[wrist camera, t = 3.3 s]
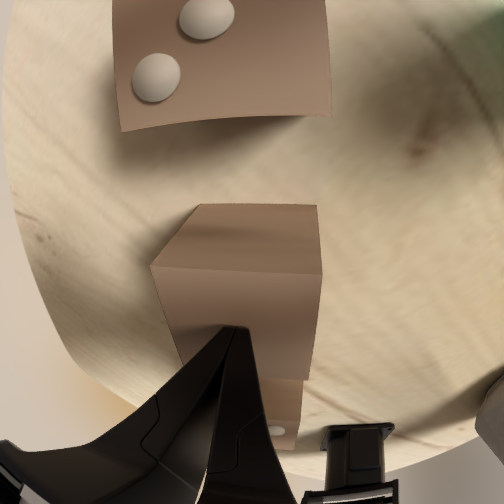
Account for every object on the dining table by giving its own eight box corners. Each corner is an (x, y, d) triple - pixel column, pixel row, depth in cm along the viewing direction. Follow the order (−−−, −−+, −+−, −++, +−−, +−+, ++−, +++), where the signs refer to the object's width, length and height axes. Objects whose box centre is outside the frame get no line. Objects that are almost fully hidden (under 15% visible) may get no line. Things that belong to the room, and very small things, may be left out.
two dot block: (299, 389, 19) (293, 452, 14) (230, 383, 20) (214, 442, 15) (305, 347, 16) (299, 424, 12) (221, 341, 17) (198, 411, 13)
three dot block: (317, 108, 9) (332, 116, 5) (187, 114, 10) (113, 134, 6) (310, -7, 7) (313, -72, 3) (179, 7, 8) (106, -29, 3)
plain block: (310, 297, 14) (308, 380, 10) (214, 292, 15) (183, 366, 11) (316, 204, 12) (322, 274, 7) (201, 203, 12) (149, 265, 8)
